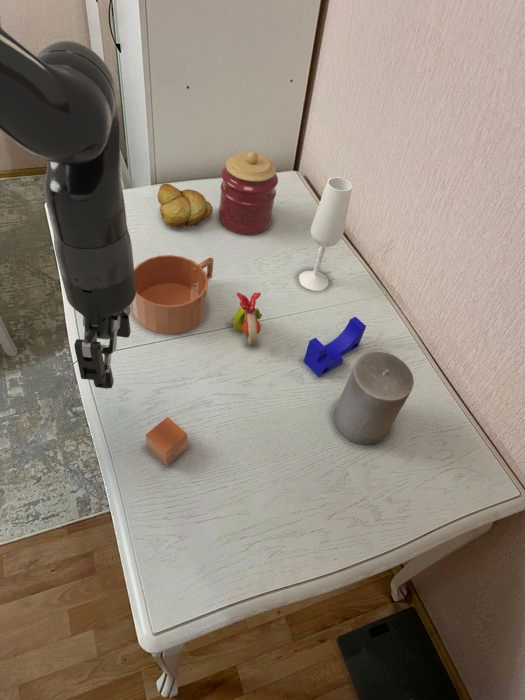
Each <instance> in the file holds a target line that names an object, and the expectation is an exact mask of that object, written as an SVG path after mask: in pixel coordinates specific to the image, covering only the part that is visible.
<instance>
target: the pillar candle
mask: <svg viewBox="0 0 525 700" xmlns="http://www.w3.org/2000/svg"><path fill="white" fill-rule="evenodd" d="M412 373H413V372H412V371H411V369H410V368H409V366H408V365H407V364H406V362H404V361H403V360H402V359H400V358H399V357H397V356H395V355H394V354H392V353H389V352H385V351H377V350H376V351H370V352H366V353H364V354H362V355H360V356H359V357H358V358H356V359H355V360H354V363H353V365H352V369H351V372H350V374H349V376H348V379H347V381H346V383H345V386H344V388H343V391H342V393H341V395H340V398H339V400H338V403H337V405H336V408H335V410H334V414H333V418H334V419H333V421H334V424H335V426H336V427H337V429H338V431H339V432H340V433H341V434H342V436H343V437H344V438H346V439H347V440H348V441H350V442H352V443H355V444H357V445H362V446H368V445H375V444H377V443H379V442H381V441H383V439H384V438H385V437H386V435H387V433H388V432H389V430H390V429H391V427H392V425H393V423H394V422H395V420H396V418H397V417H398V415H399V414H400V411H401V410H402V408H403V406H404V404H405V403H406V402H407V399H408V398H409V395H410V394H411V393H412V390H413V387H414V384H415V381H414V376H413V374H412Z"/></svg>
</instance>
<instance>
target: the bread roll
mask: <svg viewBox="0 0 525 700" xmlns="http://www.w3.org/2000/svg"><path fill="white" fill-rule="evenodd" d="M157 202H158V204H159V205H160V206H159V211H160V217H161V219H162V221H163V223H164V224H166V225H167V226H168V227H170V228H181V227H186V228H192V227H197V226H199V225H200V224H201V223H202V222H204V221H206V220H208V218H210V217H211V215H212V214H213V212H214V211H213V210H214V208H213V205H212V204H211V203H210V202H209V201H208V200H207V199H206V198H205V196H204V195H203V194H202V193H201V192H200V191H197V190H194V189H184V190H180V189H178V188H177V187H175V186H174V185H172V184H170V183H162V184H161V185H160V186H159V188H158V193H157Z"/></svg>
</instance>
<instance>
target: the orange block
mask: <svg viewBox="0 0 525 700" xmlns="http://www.w3.org/2000/svg"><path fill="white" fill-rule="evenodd" d="M145 440H146V441H145V442H146V449H147V450H148V451H149V452H150V453H151V454H152V455H153V456H154V457H155V458H156V459H158V460H159V461H160V462H161V463H162V464H163V465H164V467H168V466H169V465H170V464H171V463H172V462H173V461H175V460H176V459H177V458H178V457H179V456H180V455H182V453H184V452H185V451H186V450H187V449H188V433H187V432H186V431H185V430H184V429H182V428H181V427H180V426H179V425H178V424H177V423H175V421H173V420H172V419H171V417H169V416H167V417H165V418H164V419H162V421H160V422H158V424H157V425H155V426H154V427H153V428H151V429H150V430H148V432H146V433H145Z"/></svg>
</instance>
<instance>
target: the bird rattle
mask: <svg viewBox="0 0 525 700" xmlns="http://www.w3.org/2000/svg"><path fill="white" fill-rule="evenodd" d="M261 295H262V294H261V292H254V293H252V295H251V297H250V300H249V298H248V297H247V296H246V295H245V294H242V293H241V292H236V296H237V298H238V299H239V306H238V308H237V310H236V312H235V314H234V316H233V317H232V318H231V321H230V323H231V324H232V325H233V330H234V331H235V332H239V333H240V332H241V331H242V333H243V334H244V335H245V336H246V337H247V340H248V345H249V346H251V347H253V346H254V347H255V346H257V343H258V335H259V334H260V332H261V323H260V322H259V321H258V320H261V318H262V316H263V313H261V312H260V309H259V308H255V307H256V305H257V300H258V299H259V298H260V296H261Z"/></svg>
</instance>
